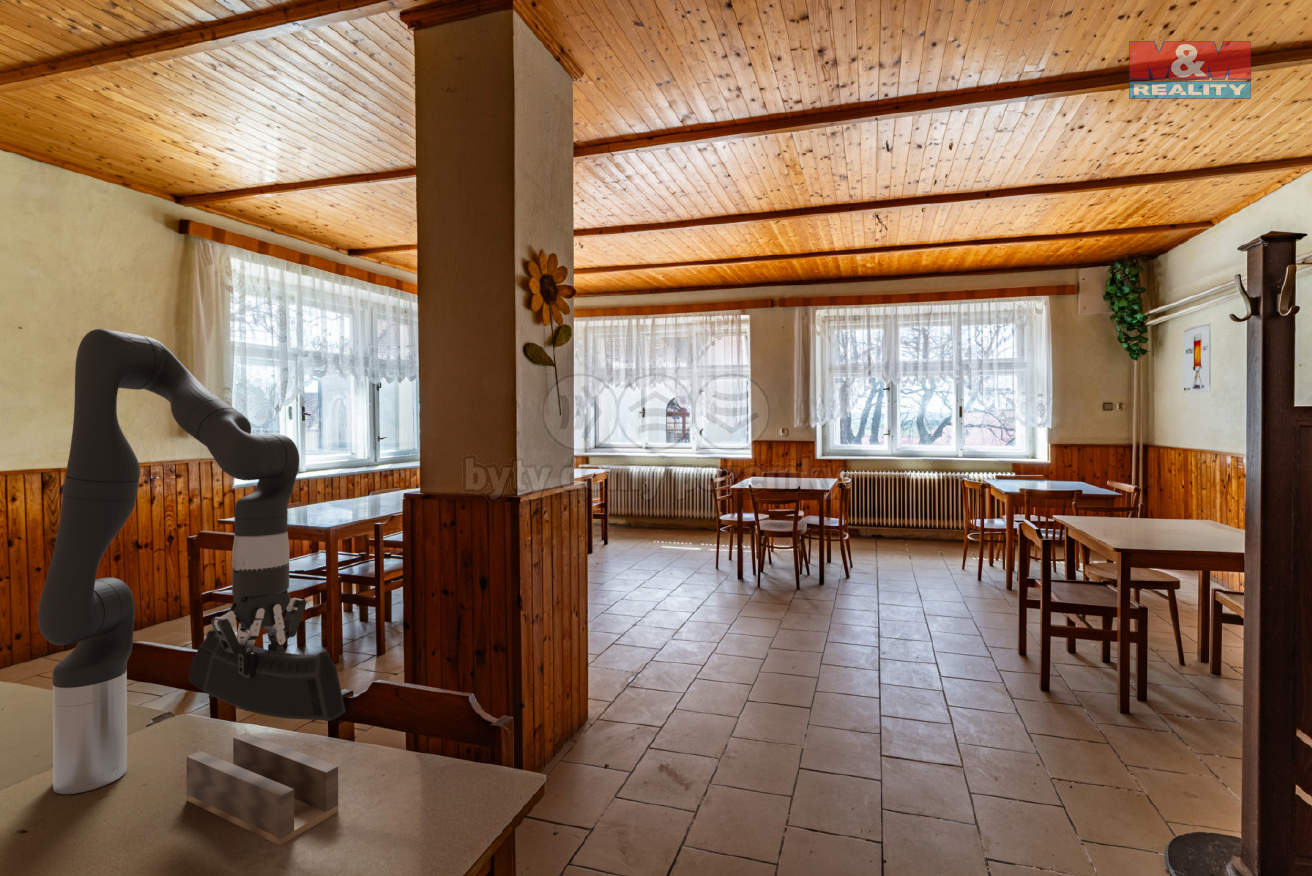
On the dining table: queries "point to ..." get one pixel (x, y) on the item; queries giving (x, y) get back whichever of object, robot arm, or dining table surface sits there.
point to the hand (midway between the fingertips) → (261, 671)
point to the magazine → (270, 682)
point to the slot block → (264, 788)
